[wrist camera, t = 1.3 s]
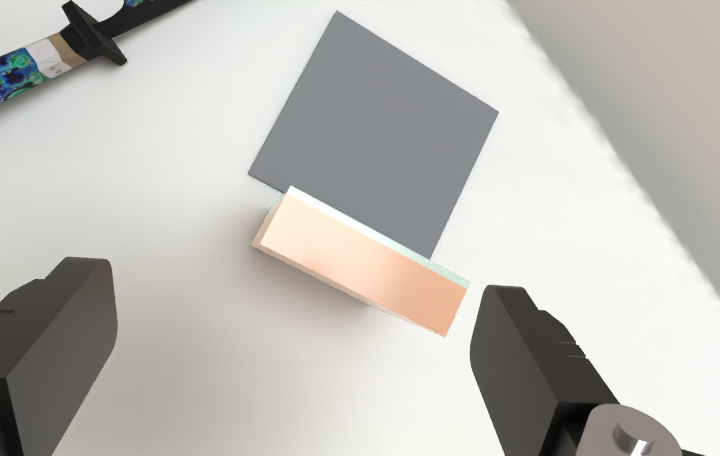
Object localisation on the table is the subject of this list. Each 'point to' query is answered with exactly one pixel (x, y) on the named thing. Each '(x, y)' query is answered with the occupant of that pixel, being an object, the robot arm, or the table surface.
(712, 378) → the table surface
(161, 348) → the table surface
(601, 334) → the table surface
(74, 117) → the table surface
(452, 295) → the tile
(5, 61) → the knife
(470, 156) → the slate mat
